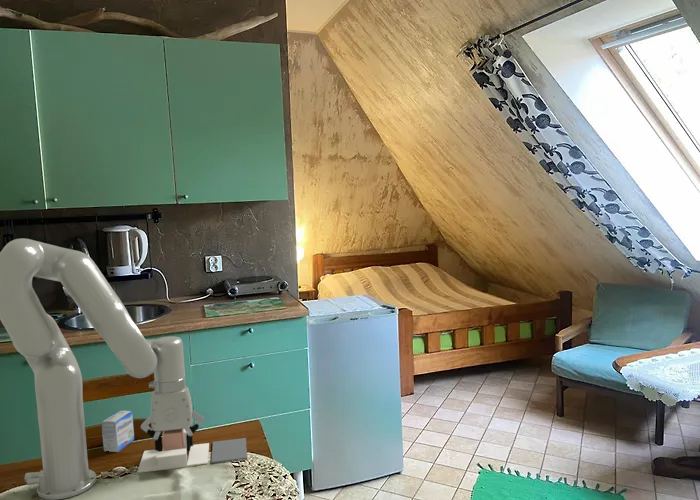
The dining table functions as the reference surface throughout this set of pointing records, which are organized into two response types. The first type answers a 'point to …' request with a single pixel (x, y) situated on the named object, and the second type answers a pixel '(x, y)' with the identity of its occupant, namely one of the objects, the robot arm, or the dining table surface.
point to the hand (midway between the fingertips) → (174, 450)
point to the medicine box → (117, 431)
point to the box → (173, 439)
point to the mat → (229, 450)
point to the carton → (174, 457)
